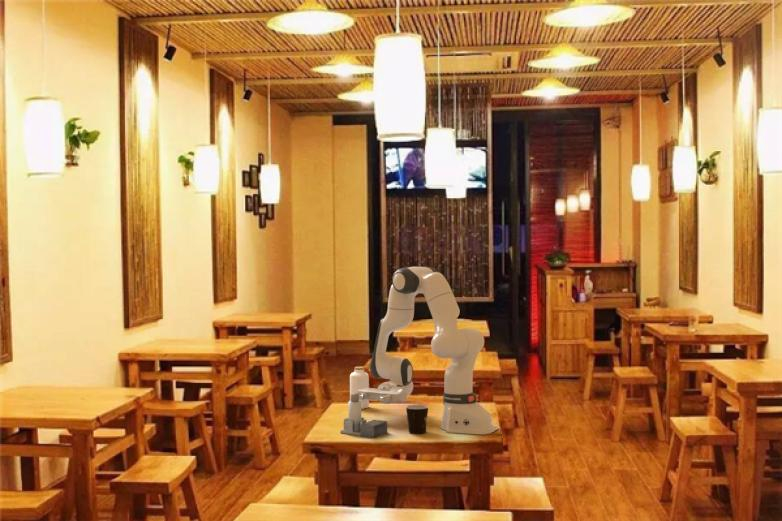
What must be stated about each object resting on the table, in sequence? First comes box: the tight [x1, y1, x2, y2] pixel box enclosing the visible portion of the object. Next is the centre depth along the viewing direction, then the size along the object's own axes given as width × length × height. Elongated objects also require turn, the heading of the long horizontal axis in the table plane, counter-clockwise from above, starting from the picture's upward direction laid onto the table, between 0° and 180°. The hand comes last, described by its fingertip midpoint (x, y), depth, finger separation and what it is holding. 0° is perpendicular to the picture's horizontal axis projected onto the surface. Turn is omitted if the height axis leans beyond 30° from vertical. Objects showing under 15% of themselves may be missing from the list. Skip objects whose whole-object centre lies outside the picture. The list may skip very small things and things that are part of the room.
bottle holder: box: [340, 416, 388, 439], centre depth 339 cm, size 16×10×5 cm, turn 60°
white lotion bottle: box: [347, 393, 362, 431], centre depth 341 cm, size 5×5×14 cm
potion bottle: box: [349, 366, 370, 410], centre depth 388 cm, size 8×8×18 cm
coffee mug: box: [405, 404, 429, 435], centre depth 338 cm, size 12×9×10 cm
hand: (371, 398), depth 351 cm, fingers open, 8 cm apart
